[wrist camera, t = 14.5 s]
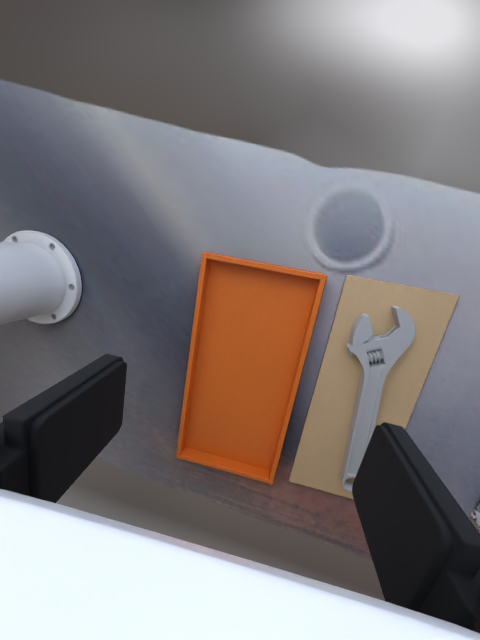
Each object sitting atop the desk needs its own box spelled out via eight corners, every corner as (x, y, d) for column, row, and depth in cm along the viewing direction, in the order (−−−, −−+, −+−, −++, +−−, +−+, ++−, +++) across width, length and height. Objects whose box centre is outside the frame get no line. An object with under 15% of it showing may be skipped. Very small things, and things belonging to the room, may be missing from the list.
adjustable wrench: (358, 484, 37) (362, 496, 35) (311, 473, 37) (313, 484, 36) (415, 310, 30) (422, 314, 28) (355, 301, 31) (360, 304, 29)
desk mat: (288, 479, 38) (288, 481, 38) (346, 274, 30) (347, 274, 30) (373, 503, 37) (374, 505, 37) (458, 295, 29) (459, 295, 29)
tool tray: (181, 447, 40) (175, 457, 38) (207, 252, 32) (202, 252, 30) (273, 473, 39) (272, 484, 37) (324, 274, 31) (327, 275, 29)
